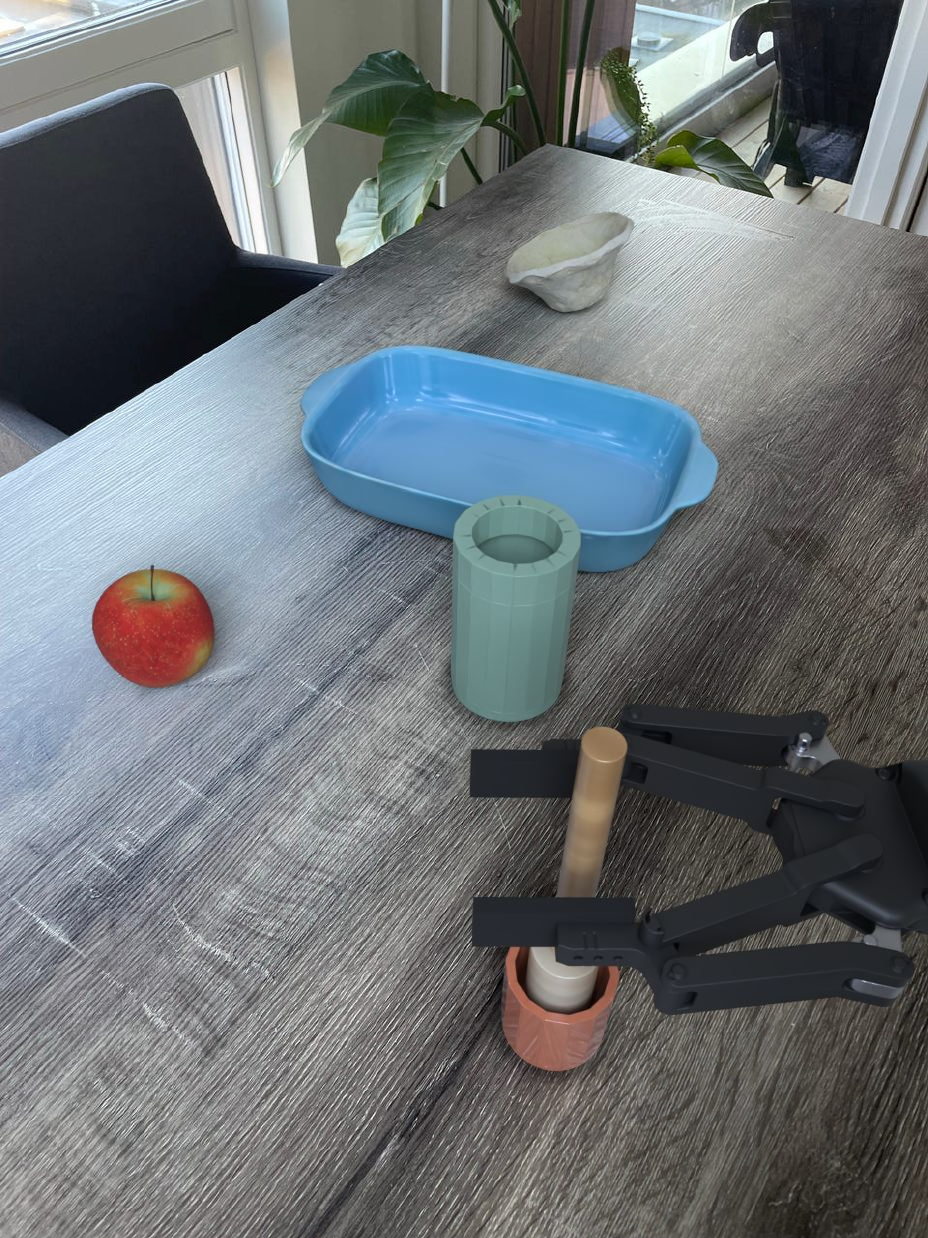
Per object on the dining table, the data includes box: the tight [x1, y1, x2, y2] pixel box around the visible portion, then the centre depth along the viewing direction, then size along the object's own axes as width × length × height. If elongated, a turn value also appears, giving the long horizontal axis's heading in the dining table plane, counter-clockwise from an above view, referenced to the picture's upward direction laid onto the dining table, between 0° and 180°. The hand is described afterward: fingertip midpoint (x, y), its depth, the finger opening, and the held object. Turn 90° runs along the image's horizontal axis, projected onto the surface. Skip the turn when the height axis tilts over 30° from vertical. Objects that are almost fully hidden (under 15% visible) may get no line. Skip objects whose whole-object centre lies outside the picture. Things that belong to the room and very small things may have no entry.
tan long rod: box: [524, 726, 627, 1015], centre depth 47 cm, size 4×4×24 cm
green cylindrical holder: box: [450, 495, 581, 723], centre depth 69 cm, size 8×8×14 cm
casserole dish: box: [299, 344, 719, 573], centre depth 88 cm, size 37×22×7 cm, turn 70°
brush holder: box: [500, 947, 620, 1072], centre depth 54 cm, size 6×6×6 cm
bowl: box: [503, 211, 635, 313], centre depth 114 cm, size 15×14×10 cm
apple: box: [91, 564, 216, 689], centre depth 71 cm, size 8×8×10 cm
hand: (472, 843), depth 44 cm, fingers open, 7 cm apart
